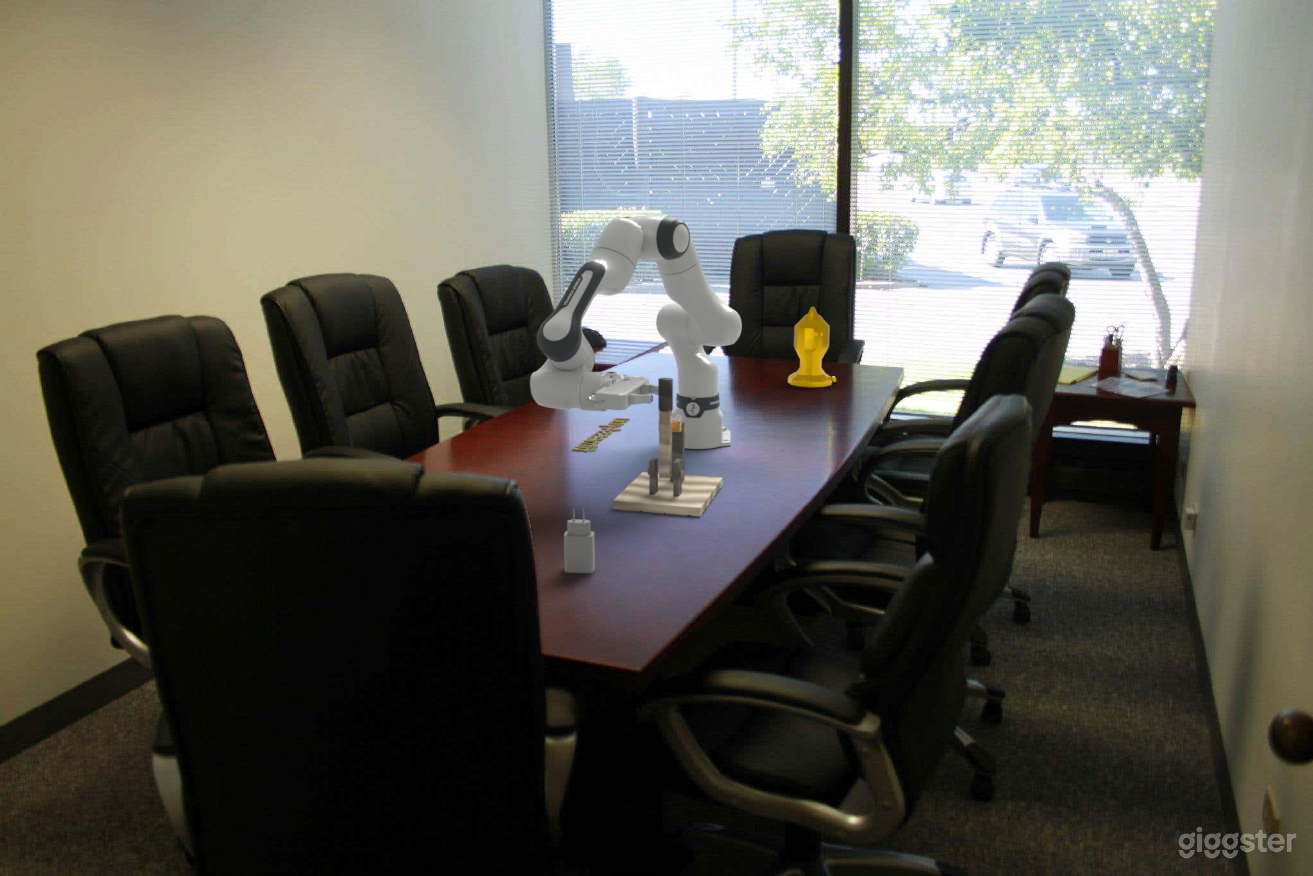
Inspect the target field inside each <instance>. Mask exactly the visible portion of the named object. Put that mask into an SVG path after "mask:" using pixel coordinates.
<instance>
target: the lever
mask: <svg viewBox="0 0 1313 876" xmlns="http://www.w3.org/2000/svg"><path fill="white" fill-rule="evenodd" d="M657 386H658V395H657V397H658V398H657V399H658V401H657V403H658V405H657V406H658V473H659V478H667V479H670V477H671V476H672V413H673V411H674V405H673V404H674V395H673V394H674V379H673V378H671V377H660V378H658V385H657Z"/></svg>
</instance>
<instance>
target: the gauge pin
mask: <svg viewBox="0 0 1313 876" xmlns="http://www.w3.org/2000/svg"><path fill="white" fill-rule="evenodd" d="M681 431H682V415H676V416H675V417H674V418H673V419H672V432H681Z"/></svg>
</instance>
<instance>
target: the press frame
mask: <svg viewBox="0 0 1313 876" xmlns="http://www.w3.org/2000/svg"><path fill="white" fill-rule="evenodd" d="M685 450H686V448H685V422H682V431H681V432H672V476H671V477H670V479H667V478H659V456H658V457H656V456H653V457H651V458H650V459H649V461H648V462H649V463H648V468H647V471H642V472H641V473H640V474H639V475H638V476H636V477H635V479H634V480H632V481H631V483H629V484H628V486H626V488H624V489H623V490H622V491H621V492H620V493H619V494H618V495H617V496H616V497H615V498H614V499H613V500H612V509H613V510H618V511H619V510H620V511H629V512H630V511H631V512H640V511H642V512H641V513H651V514H652V513H655V514H664V513H665V514H666V515H677V516H678V515H679V516H687V515H691V517H698V518H699V517H701V516H702V515H703V514H704V513H705V511H706V510H707V509H708V507H709V506H708V505H710V504H711V503H710V502H712V501H713V500H714V498H715V497H716V496H717V494H718V493H719V491H720V490H721V489H722V487H723V486H722V485H724V484H723V481H724V478H723V477H719V476H705V475H692V474H691V475H690V474H685V470H686V469H685V468H686V467H685V462H686V460H685V458H686V457H685V454H686V453H685V452H686V451H685ZM721 486H722V487H721ZM720 488H721V489H720ZM719 489H720V490H719ZM717 492H718V493H717ZM715 495H716V496H715ZM714 496H715V497H714ZM712 499H713V500H712ZM709 503H710V504H709ZM707 506H708V507H707ZM705 509H706V510H705ZM703 512H704V513H703ZM702 513H703V514H702ZM665 514H664V515H665Z"/></svg>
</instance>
